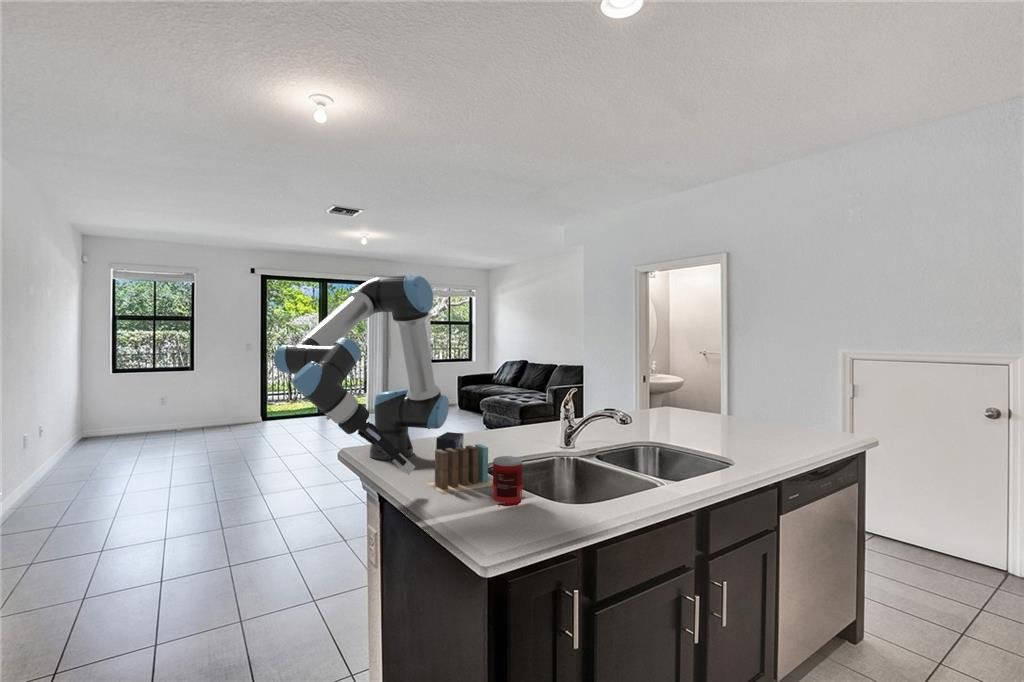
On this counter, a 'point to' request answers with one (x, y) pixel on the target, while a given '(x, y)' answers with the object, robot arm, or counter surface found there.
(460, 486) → the board
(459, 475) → the domino
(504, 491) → the canned food
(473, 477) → the domino
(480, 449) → the domino
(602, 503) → the counter surface
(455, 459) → the domino
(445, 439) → the small box
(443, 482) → the domino
